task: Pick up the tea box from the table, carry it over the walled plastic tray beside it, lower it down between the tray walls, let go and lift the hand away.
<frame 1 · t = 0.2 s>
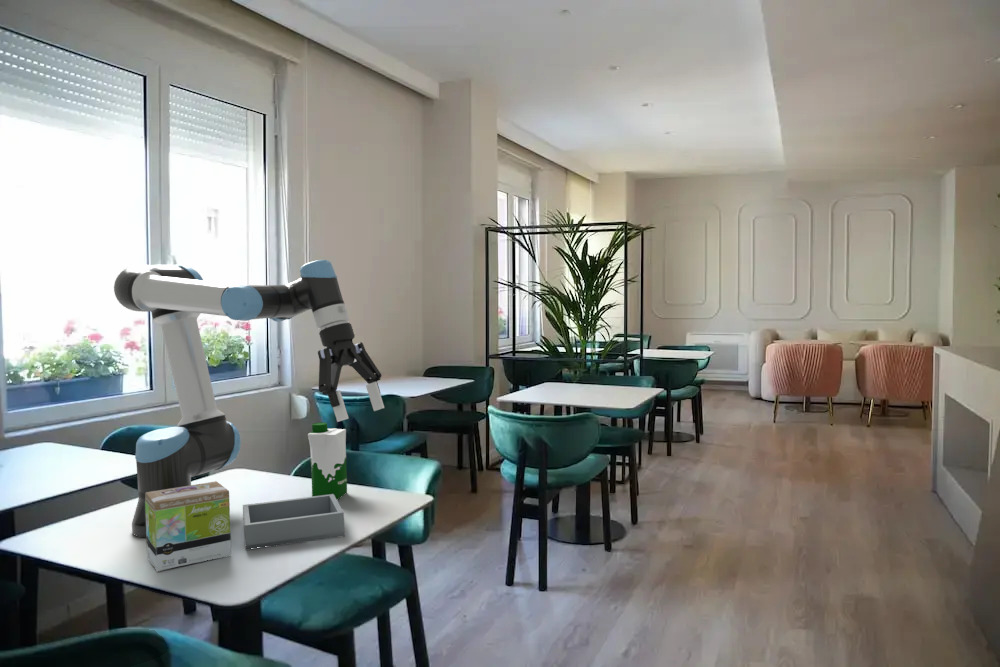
hand: (361, 414, 168), 28 cm above the table, tool tilted 20°, fingers open, 13 cm apart
tea box: (190, 559, 158), on the table
walled tray: (293, 531, 173), on the table
milk carton: (330, 497, 202), on the table
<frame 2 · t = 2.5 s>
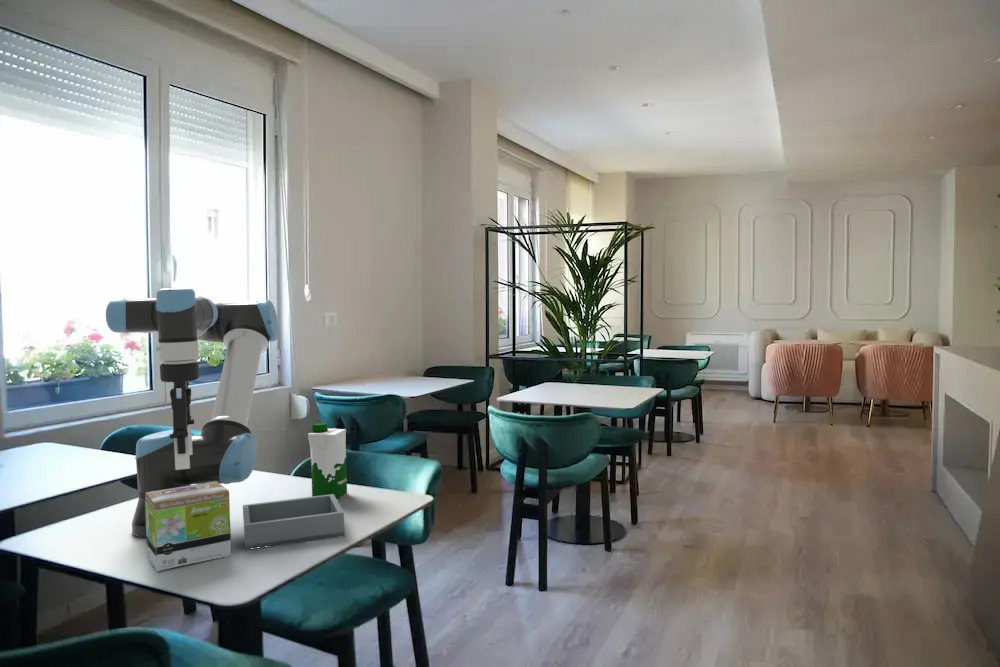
hand: (184, 461, 156), 21 cm above the table, tool pointing down, fingers open, 13 cm apart
nothing on the table moved.
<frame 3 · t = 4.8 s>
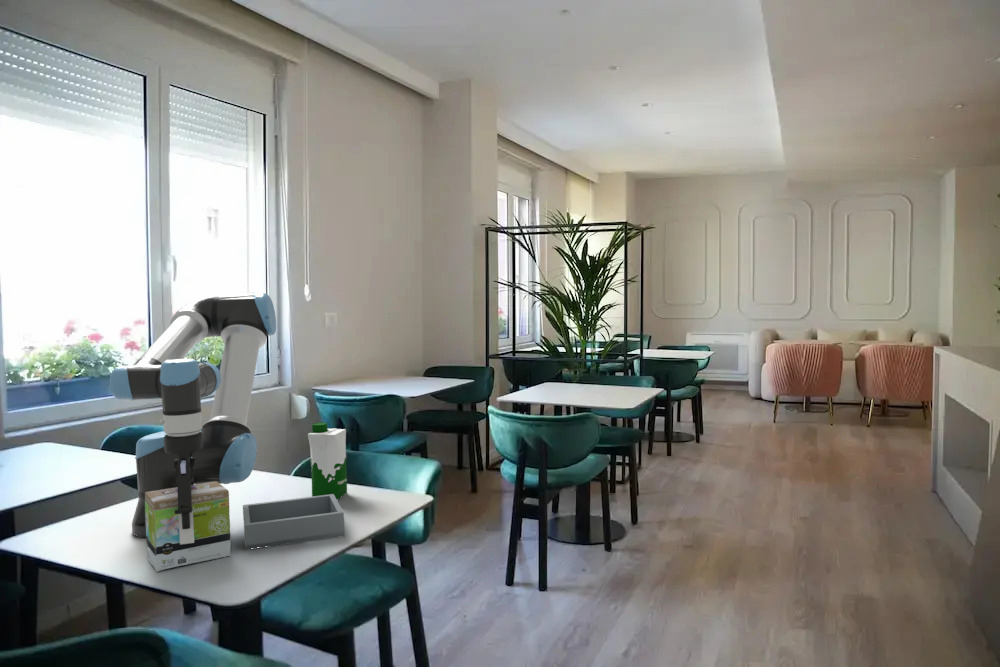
hand: (188, 534, 157), 5 cm above the table, tool pointing down, fingers closed on tea box, 11 cm apart
tea box: (189, 558, 158), on the table, touching gripper
everything else where it was.
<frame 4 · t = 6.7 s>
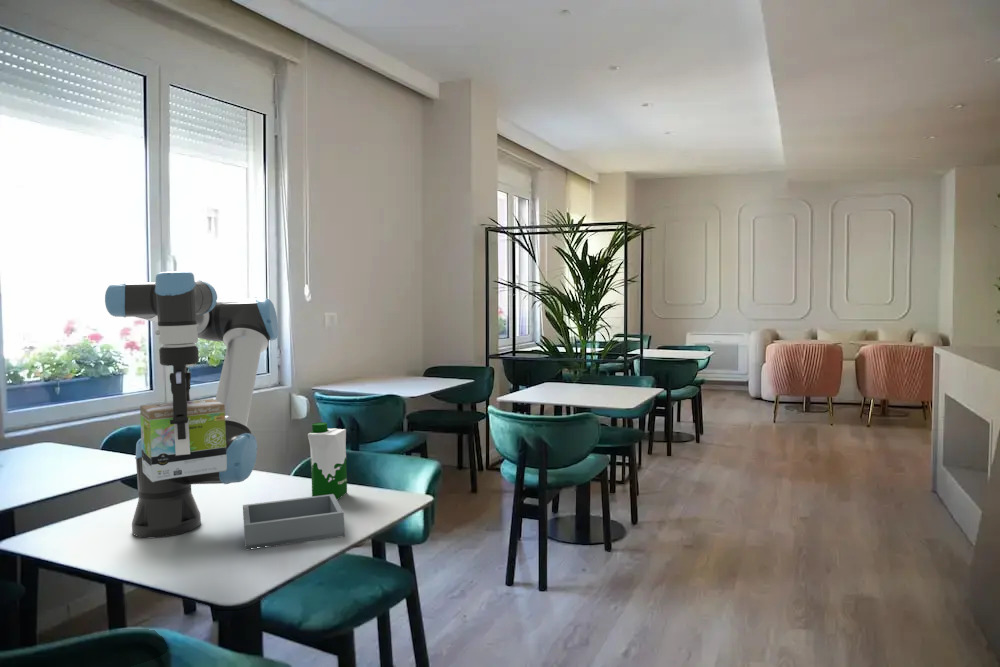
hand: (184, 448, 156), 24 cm above the table, tool pointing down, fingers closed on tea box, 11 cm apart
tea box: (185, 473, 157), point 18 cm above the table, touching gripper
everything else where it was.
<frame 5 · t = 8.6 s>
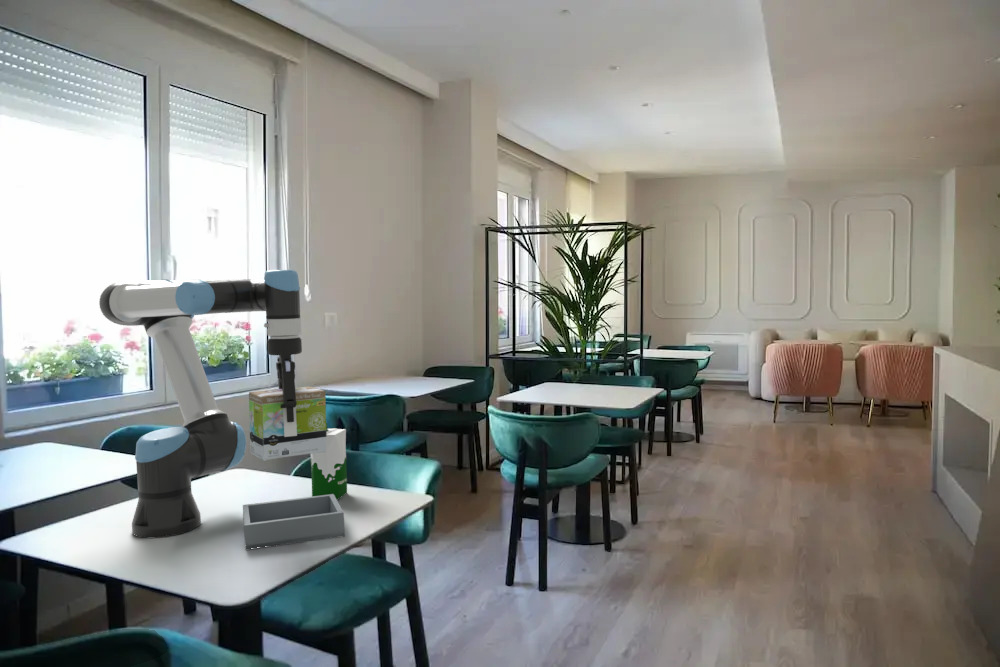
hand: (288, 431, 171), 24 cm above the table, tool pointing down, fingers closed on tea box, 11 cm apart
tea box: (289, 454, 172), point 18 cm above the table, touching gripper
everything else where it was.
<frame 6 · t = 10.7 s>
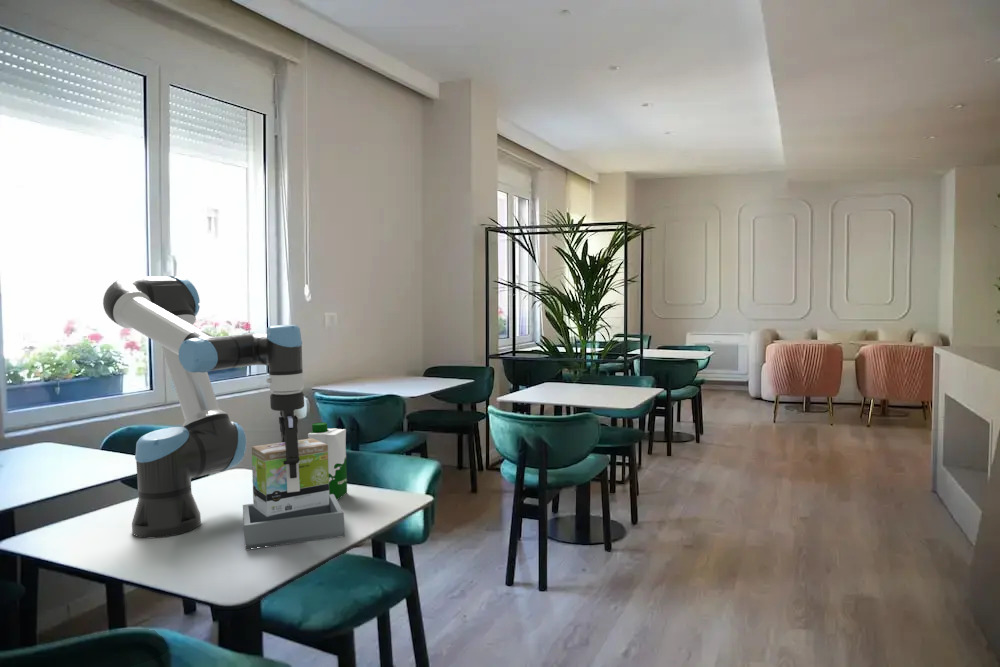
hand: (291, 485, 172), 11 cm above the table, tool pointing down, fingers closed on tea box, 11 cm apart
tea box: (292, 507, 173), point 6 cm above the table, touching gripper
everything else where it was.
when the fingers open (8 cm above the table, at t = 12.5 s): tea box drops 2 cm, resting on walled tray.
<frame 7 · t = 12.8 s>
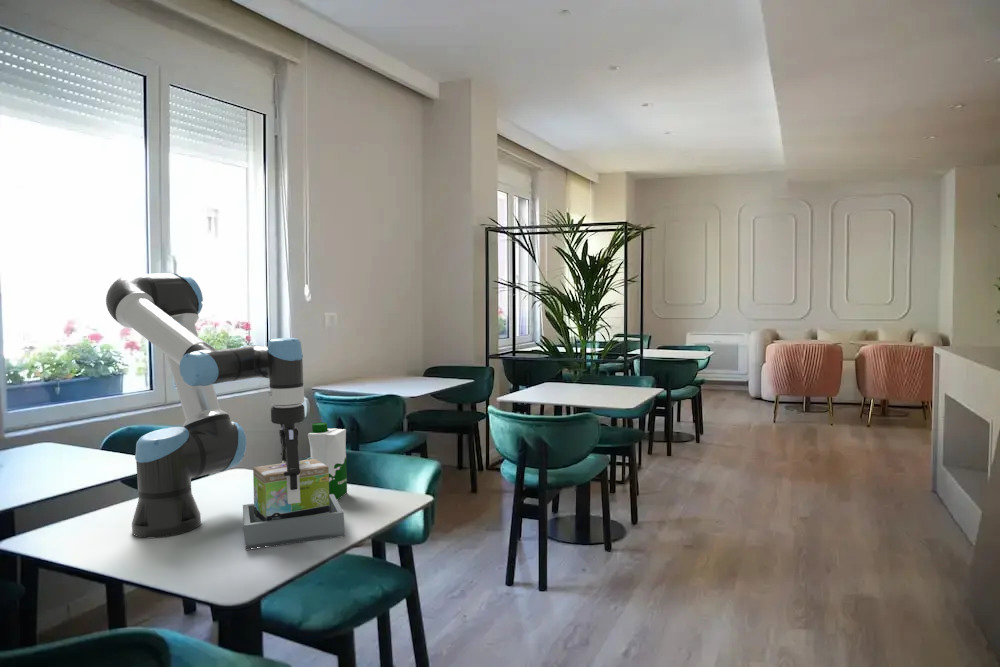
hand: (291, 495, 172), 9 cm above the table, tool pointing down, fingers open, 13 cm apart
tea box: (293, 528, 173), point 1 cm above the table, touching walled tray
everything else where it was.
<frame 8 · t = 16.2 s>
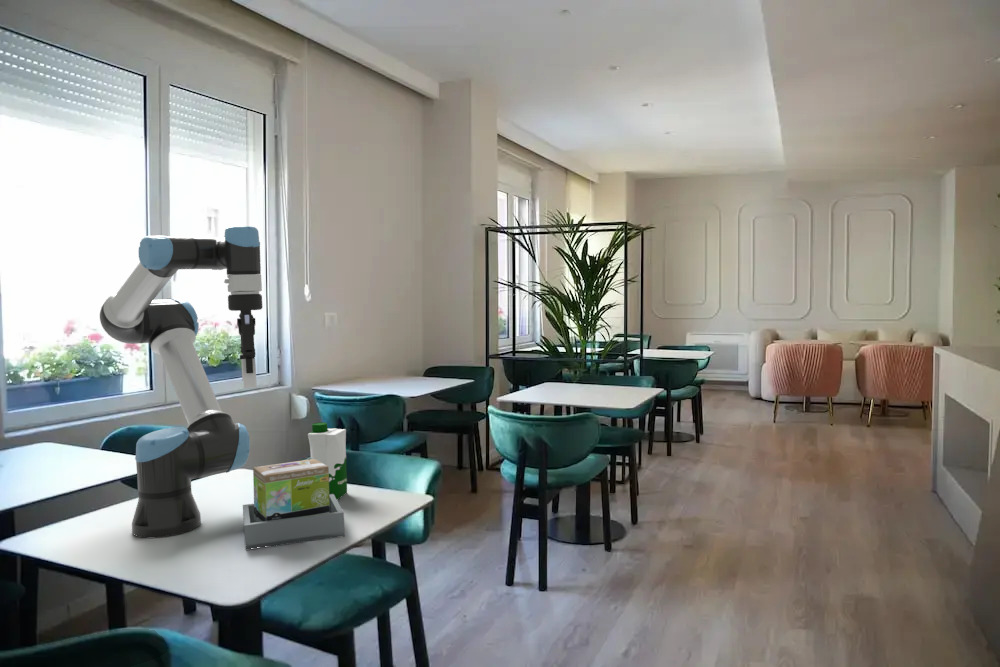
hand: (249, 384, 173), 35 cm above the table, tool pointing down, fingers open, 13 cm apart
nothing on the table moved.
at the end: tea box 0.2 cm off-centre on the walled tray, point 0.8 cm above the walled tray's base; tea box tilted 0°; the gripper is holding nothing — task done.
